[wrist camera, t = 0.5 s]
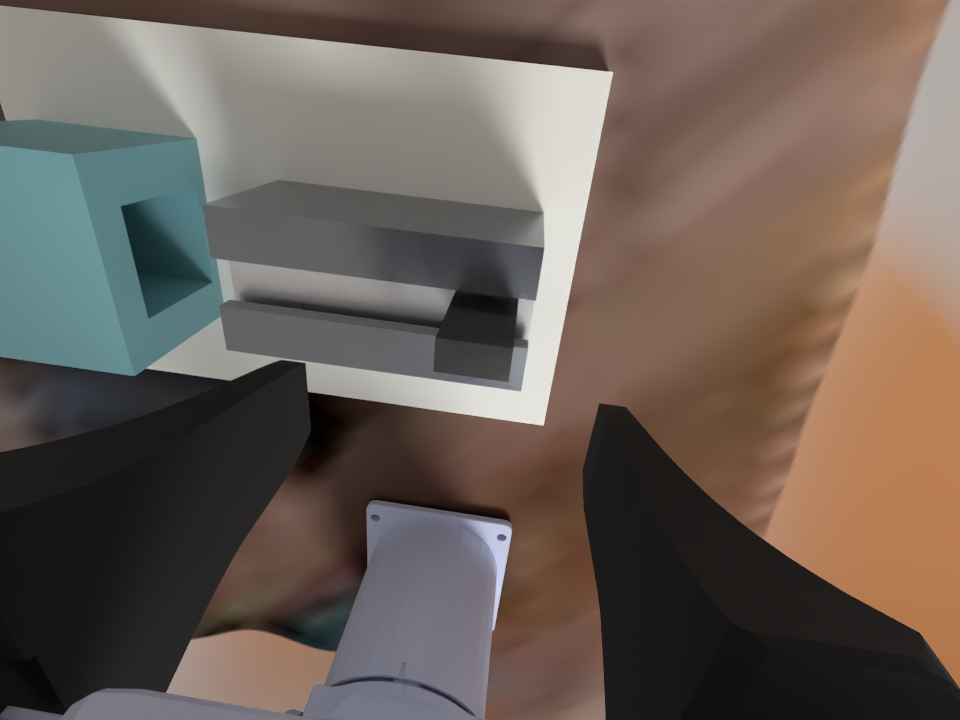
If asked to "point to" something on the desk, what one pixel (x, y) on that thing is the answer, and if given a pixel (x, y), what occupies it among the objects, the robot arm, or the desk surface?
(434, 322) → the bar
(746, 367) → the desk surface
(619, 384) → the desk surface
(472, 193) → the base board
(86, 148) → the socket
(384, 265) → the grey rail guide
